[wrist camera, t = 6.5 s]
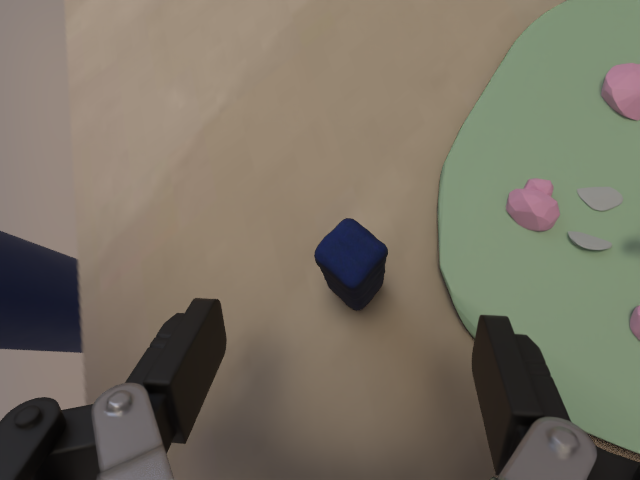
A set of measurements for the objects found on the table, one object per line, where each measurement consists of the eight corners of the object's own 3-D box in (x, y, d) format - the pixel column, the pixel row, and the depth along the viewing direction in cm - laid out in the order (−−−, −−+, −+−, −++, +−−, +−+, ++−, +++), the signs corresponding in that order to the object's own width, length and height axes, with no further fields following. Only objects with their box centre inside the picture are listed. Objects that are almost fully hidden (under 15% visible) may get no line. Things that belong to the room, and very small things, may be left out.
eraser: (357, 317, 22) (352, 294, 15) (324, 285, 22) (307, 251, 16) (387, 285, 22) (395, 250, 15) (354, 255, 23) (349, 208, 16)
